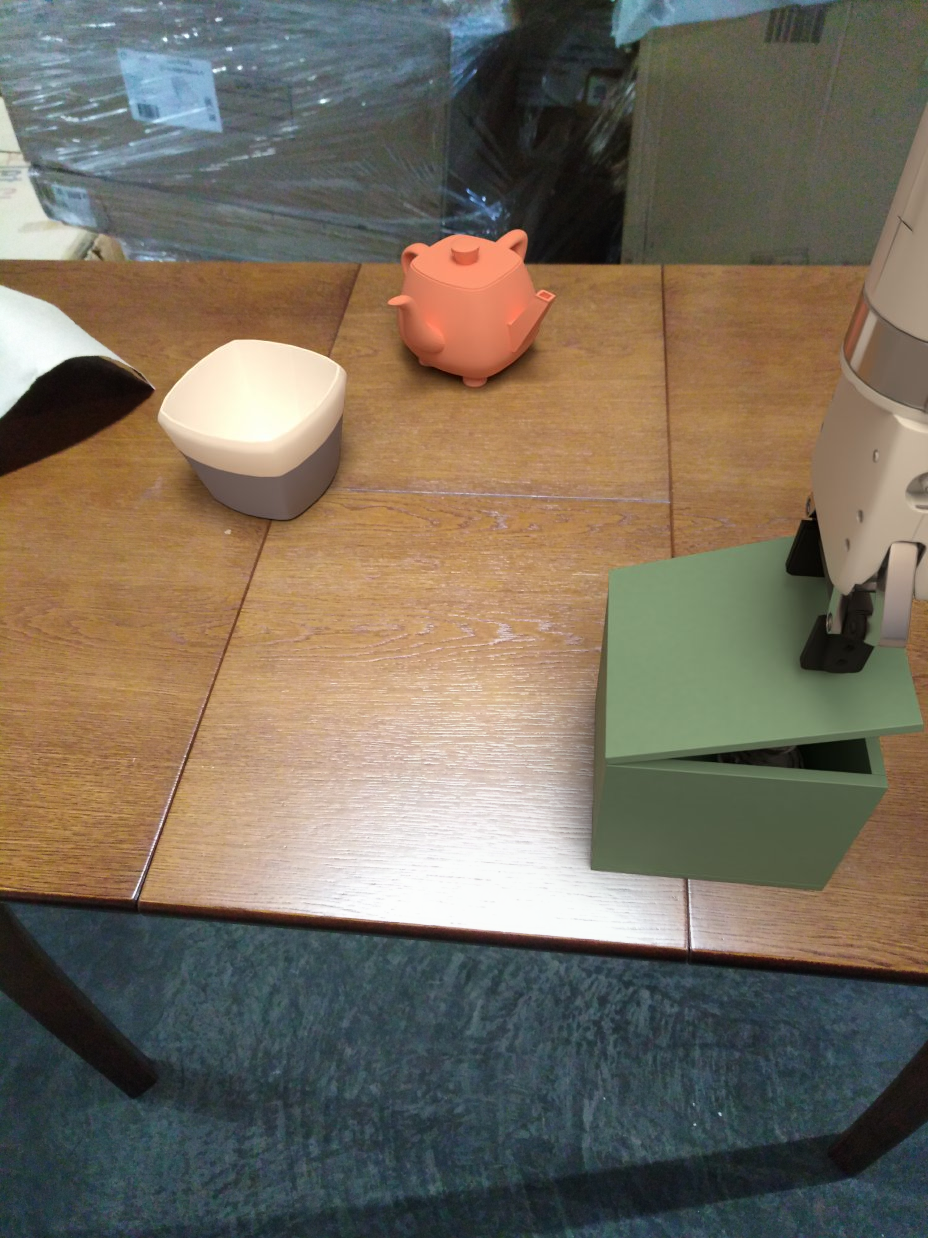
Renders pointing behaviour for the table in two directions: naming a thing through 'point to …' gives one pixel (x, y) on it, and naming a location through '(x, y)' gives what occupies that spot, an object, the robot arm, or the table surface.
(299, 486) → the bowl
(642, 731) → the lid
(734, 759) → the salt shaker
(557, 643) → the table surface
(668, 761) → the chest
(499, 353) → the teapot
